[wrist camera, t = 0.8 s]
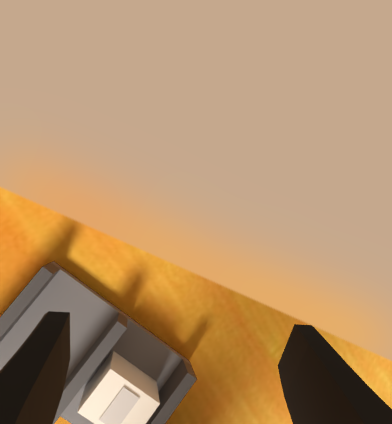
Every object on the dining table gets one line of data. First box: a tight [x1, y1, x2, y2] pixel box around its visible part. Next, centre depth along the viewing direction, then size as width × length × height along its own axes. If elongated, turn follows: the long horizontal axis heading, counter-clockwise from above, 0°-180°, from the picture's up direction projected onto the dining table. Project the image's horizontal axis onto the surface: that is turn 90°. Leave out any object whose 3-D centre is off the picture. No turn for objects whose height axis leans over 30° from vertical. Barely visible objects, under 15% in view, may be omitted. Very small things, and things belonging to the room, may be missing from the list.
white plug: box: [78, 351, 160, 424], centre depth 29 cm, size 4×5×4 cm
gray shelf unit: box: [0, 261, 197, 424], centre depth 30 cm, size 10×16×4 cm, turn 51°
